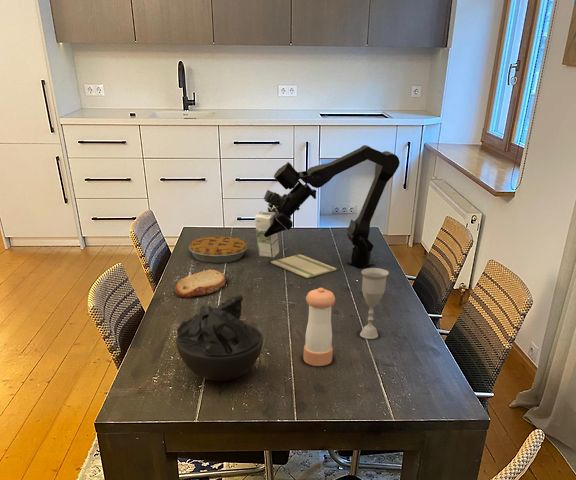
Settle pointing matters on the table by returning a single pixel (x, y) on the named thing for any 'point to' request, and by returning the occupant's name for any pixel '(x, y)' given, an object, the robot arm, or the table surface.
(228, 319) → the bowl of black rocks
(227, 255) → the pie
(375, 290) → the chalice
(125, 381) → the table surface
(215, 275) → the bread slice
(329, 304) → the pepper shaker
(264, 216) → the syrup box
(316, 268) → the towel
